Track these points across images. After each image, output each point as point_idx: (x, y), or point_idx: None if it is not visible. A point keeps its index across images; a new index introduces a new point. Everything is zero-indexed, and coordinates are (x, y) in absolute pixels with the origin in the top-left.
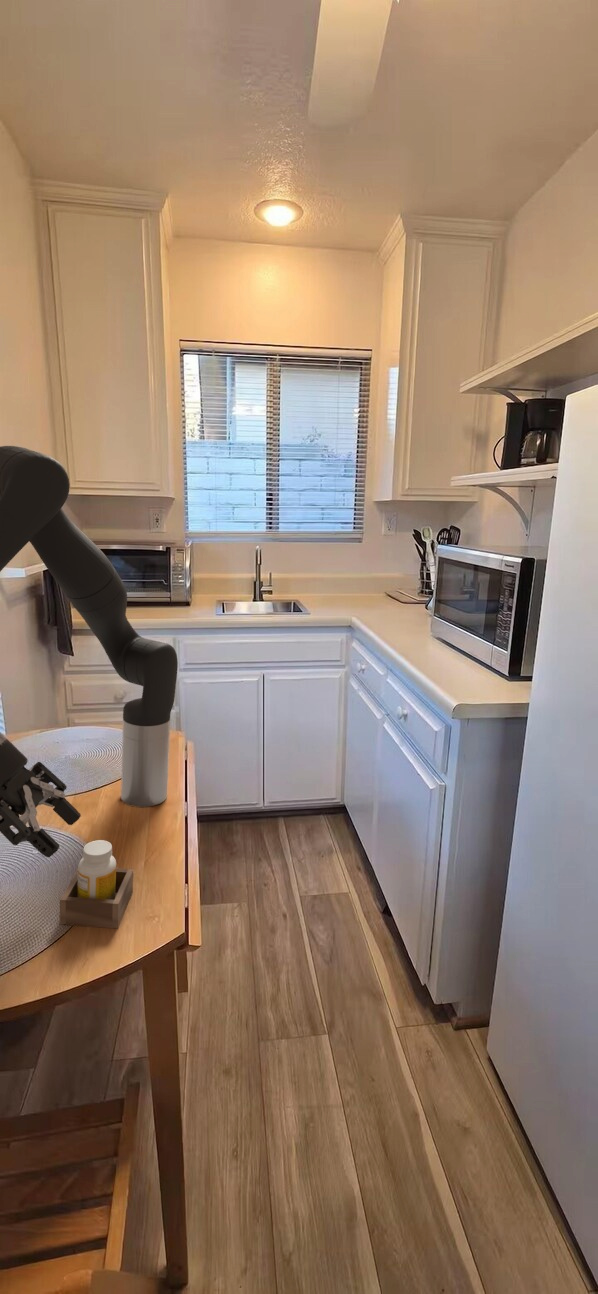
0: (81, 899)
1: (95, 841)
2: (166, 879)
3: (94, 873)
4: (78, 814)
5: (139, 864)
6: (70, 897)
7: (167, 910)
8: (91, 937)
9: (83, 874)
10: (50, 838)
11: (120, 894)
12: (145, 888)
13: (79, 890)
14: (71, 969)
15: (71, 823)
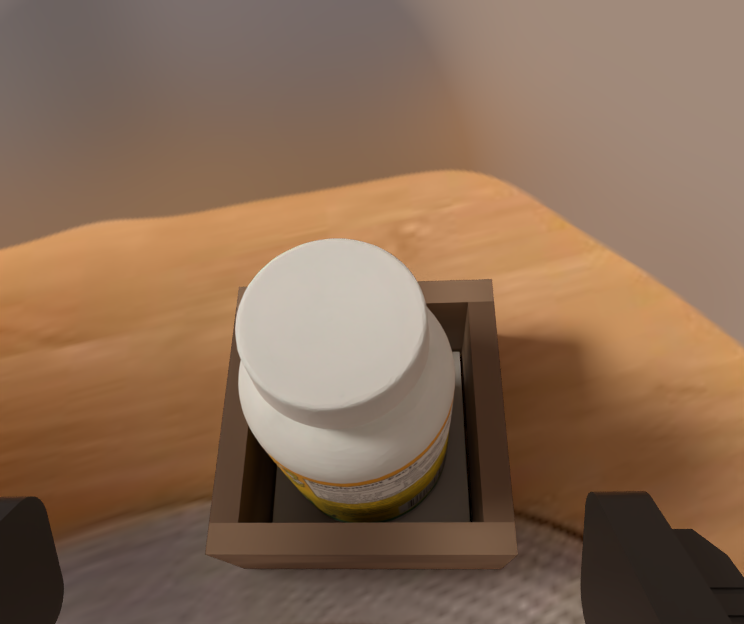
0: (491, 444)
1: (257, 352)
2: (185, 245)
3: (448, 349)
4: (2, 504)
5: (75, 362)
6: (486, 505)
7: (362, 207)
8: (547, 411)
9: (443, 419)
10: (666, 572)
11: (425, 289)
12: None
13: (427, 477)
14: (729, 426)
15: (55, 588)
